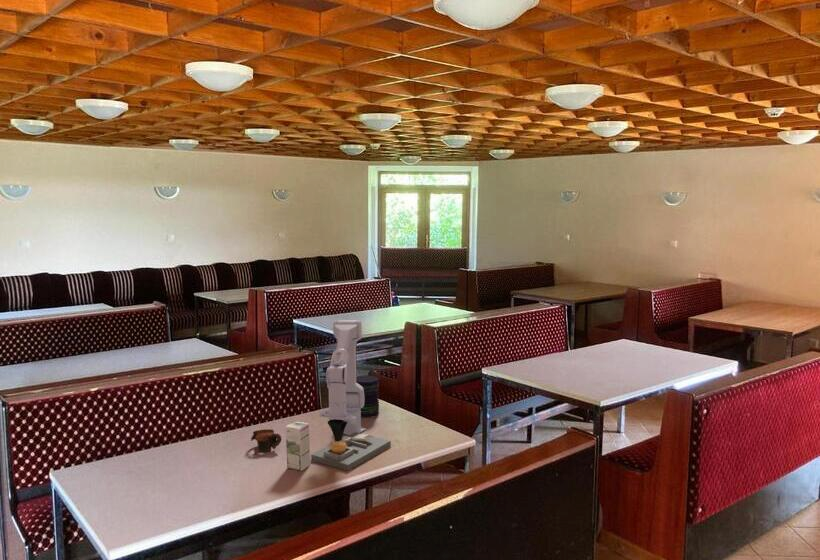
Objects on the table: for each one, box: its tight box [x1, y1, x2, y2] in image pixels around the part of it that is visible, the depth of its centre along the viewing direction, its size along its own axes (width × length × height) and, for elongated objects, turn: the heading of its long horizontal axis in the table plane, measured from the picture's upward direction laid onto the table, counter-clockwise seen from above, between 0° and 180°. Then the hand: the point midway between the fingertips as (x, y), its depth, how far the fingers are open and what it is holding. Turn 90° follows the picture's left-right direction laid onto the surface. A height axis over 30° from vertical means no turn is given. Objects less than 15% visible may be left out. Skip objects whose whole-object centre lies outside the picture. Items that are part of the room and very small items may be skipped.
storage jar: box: [356, 374, 380, 418], centre depth 249 cm, size 10×10×15 cm
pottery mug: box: [250, 428, 283, 454], centre depth 215 cm, size 12×10×8 cm
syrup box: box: [285, 421, 311, 472], centre depth 199 cm, size 6×6×14 cm
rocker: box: [352, 433, 374, 441], centre depth 215 cm, size 6×4×1 cm
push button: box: [330, 441, 346, 453], centre depth 204 cm, size 5×5×2 cm
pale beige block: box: [341, 435, 352, 447], centre depth 212 cm, size 3×4×2 cm
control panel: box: [310, 432, 392, 471], centre depth 210 cm, size 16×24×3 cm, turn 147°
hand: (338, 440), depth 204 cm, fingers closed
